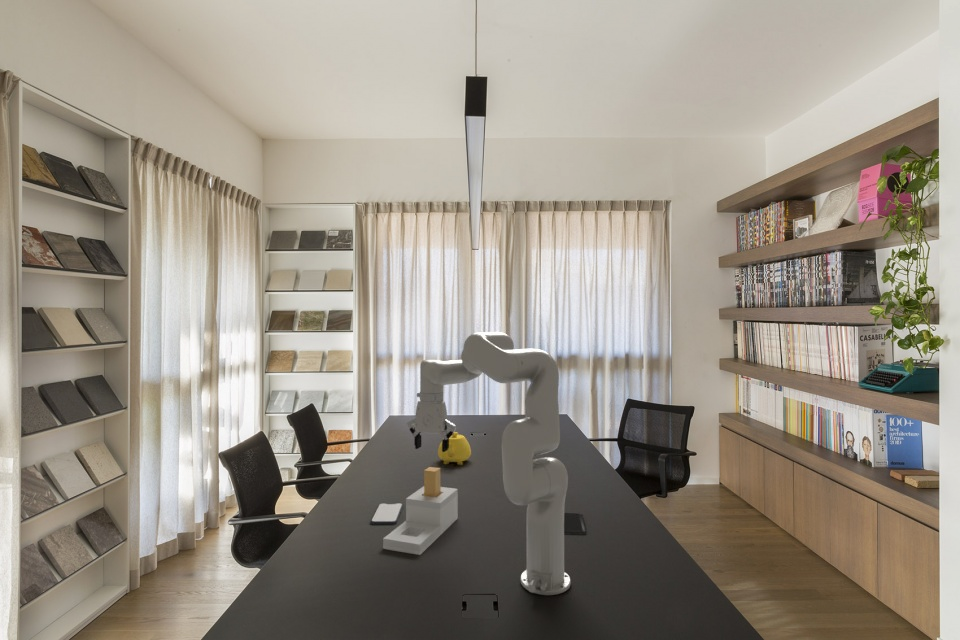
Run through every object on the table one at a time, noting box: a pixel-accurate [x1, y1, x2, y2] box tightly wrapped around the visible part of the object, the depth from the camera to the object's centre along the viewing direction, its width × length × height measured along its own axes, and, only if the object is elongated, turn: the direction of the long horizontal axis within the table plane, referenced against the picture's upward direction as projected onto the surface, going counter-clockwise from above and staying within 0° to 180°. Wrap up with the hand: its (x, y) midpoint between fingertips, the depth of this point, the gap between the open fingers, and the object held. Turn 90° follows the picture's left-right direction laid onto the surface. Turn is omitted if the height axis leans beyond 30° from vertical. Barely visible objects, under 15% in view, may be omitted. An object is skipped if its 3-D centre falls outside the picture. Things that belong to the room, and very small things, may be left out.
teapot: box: [437, 431, 472, 466], centre depth 238 cm, size 20×16×14 cm
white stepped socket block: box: [382, 485, 459, 556], centre depth 161 cm, size 28×12×10 cm, turn 160°
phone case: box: [370, 502, 404, 526], centre depth 176 cm, size 9×2×16 cm
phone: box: [564, 512, 587, 535], centre depth 167 cm, size 8×1×15 cm
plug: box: [423, 466, 442, 497], centre depth 168 cm, size 4×4×10 cm
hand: (431, 449), depth 168 cm, fingers open, 9 cm apart
